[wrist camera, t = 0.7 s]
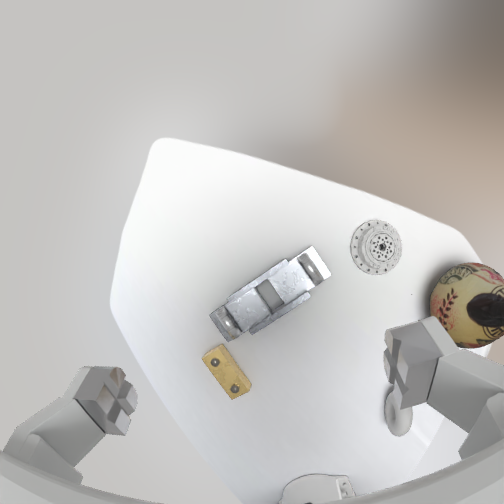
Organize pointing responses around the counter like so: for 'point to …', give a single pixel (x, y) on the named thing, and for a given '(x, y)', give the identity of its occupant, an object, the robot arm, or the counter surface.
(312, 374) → the counter surface
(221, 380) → the gold block with knob
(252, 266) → the counter surface
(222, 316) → the linear slide rail
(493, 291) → the ceramic jug
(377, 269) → the mechanical component
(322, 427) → the counter surface
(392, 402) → the donut
